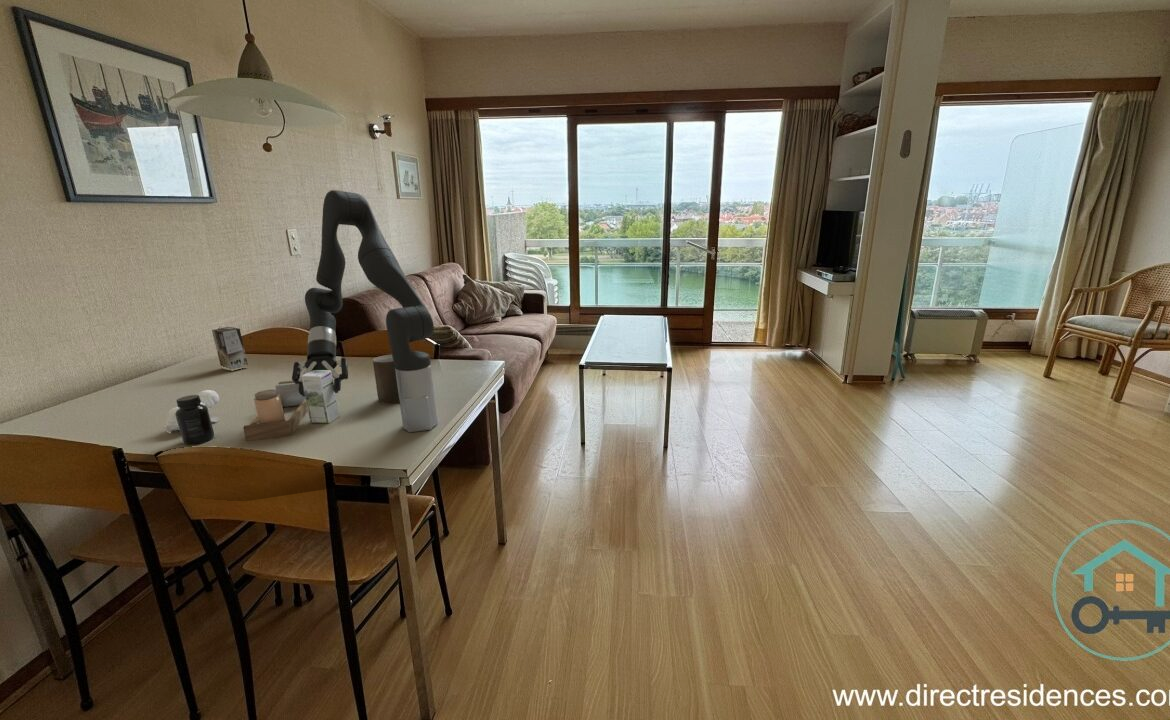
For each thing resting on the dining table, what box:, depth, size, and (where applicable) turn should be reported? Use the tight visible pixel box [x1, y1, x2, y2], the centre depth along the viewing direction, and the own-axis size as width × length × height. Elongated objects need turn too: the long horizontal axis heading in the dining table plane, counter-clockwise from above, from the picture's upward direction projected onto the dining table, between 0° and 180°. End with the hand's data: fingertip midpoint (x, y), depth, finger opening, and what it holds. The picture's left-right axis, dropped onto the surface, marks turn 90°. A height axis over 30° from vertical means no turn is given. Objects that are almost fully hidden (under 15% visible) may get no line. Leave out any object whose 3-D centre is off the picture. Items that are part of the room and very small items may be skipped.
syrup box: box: [301, 370, 340, 424], centre depth 141 cm, size 6×6×14 cm
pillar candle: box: [372, 354, 400, 405], centre depth 156 cm, size 10×10×15 cm
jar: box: [253, 389, 286, 424], centre depth 135 cm, size 6×6×11 cm
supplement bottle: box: [175, 394, 215, 446], centre depth 130 cm, size 7×7×12 cm
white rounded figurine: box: [162, 389, 220, 433], centre depth 141 cm, size 9×8×15 cm
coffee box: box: [211, 326, 249, 369], centre depth 194 cm, size 9×6×16 cm
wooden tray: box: [242, 380, 308, 442], centre depth 146 cm, size 32×10×6 cm, turn 15°
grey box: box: [274, 383, 306, 408], centre depth 156 cm, size 6×8×7 cm
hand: (319, 393), depth 140 cm, fingers open, 8 cm apart
